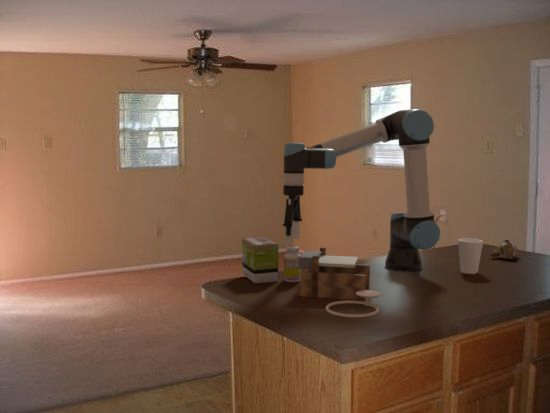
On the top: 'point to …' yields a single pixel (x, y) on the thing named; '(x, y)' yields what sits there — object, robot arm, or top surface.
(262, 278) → the tea box
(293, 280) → the supplement bottle
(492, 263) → the top surface
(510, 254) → the ceramic sculpture
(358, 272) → the frame
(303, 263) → the trapdoor
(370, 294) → the hand towel holder
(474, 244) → the foam cup
